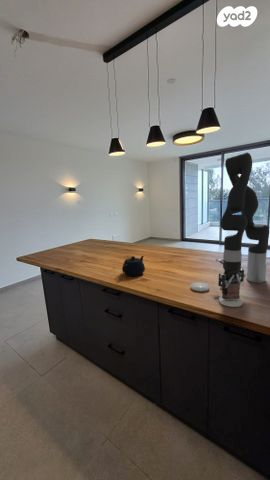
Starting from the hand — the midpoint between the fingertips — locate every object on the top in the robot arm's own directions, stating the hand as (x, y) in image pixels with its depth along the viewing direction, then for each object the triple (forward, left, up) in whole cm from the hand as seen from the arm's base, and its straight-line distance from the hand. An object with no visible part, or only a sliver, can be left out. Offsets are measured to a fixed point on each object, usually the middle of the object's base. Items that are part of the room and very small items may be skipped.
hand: (230, 292), depth 99 cm
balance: (-11, -10, -5) cm, 16 cm away
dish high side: (0, -20, -5) cm, 21 cm away
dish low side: (0, 0, -5) cm, 5 cm away
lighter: (0, 0, -3) cm, 3 cm away
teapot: (+19, -63, -5) cm, 66 cm away
